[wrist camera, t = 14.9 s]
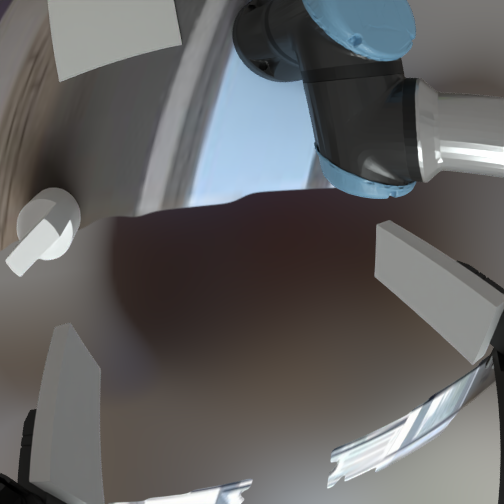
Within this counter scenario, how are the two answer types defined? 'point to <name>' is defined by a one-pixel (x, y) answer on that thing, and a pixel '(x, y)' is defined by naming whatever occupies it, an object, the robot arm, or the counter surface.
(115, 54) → the grey mat
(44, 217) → the cylinder with rectangular tab
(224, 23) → the counter surface
